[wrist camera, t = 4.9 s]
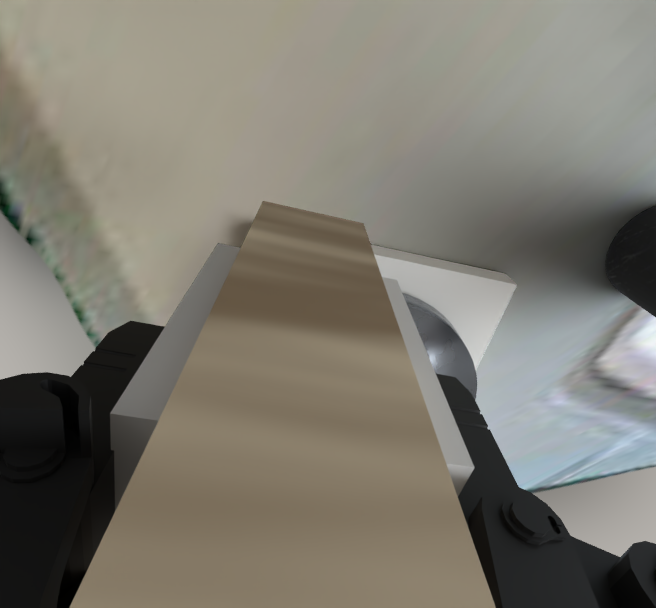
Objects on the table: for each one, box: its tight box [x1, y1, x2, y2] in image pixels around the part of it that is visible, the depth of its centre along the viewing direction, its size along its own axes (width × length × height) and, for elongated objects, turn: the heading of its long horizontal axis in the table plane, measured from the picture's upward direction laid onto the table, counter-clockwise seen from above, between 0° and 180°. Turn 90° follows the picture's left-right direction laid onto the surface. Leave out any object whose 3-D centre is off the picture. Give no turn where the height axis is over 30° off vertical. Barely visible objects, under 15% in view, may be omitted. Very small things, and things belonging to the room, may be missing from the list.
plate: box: [371, 245, 517, 370], centre depth 32 cm, size 18×18×2 cm
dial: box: [402, 293, 477, 400], centre depth 29 cm, size 16×16×5 cm
